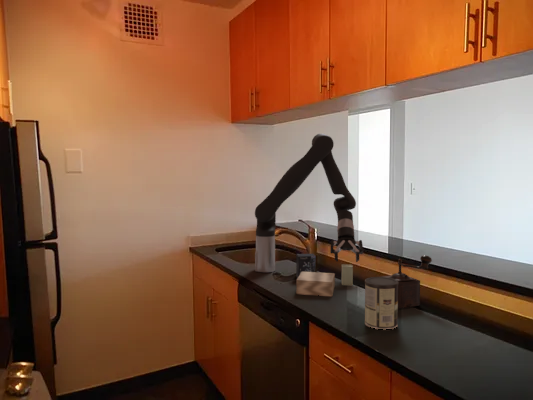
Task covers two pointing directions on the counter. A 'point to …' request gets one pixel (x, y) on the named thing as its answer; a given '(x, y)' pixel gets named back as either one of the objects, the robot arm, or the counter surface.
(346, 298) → the counter surface
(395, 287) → the coffee can
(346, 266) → the green block
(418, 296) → the coffee grinder
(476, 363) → the counter surface
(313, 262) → the box
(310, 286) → the maple block
